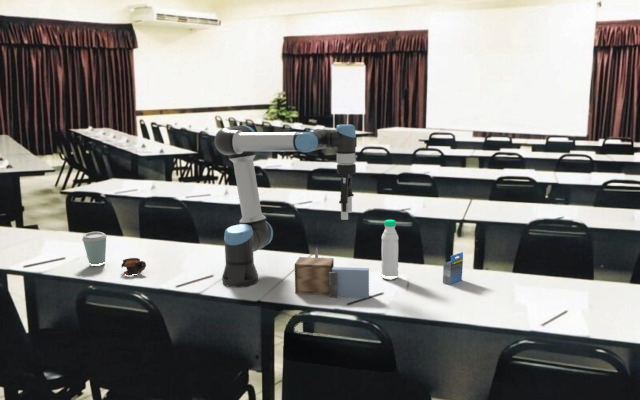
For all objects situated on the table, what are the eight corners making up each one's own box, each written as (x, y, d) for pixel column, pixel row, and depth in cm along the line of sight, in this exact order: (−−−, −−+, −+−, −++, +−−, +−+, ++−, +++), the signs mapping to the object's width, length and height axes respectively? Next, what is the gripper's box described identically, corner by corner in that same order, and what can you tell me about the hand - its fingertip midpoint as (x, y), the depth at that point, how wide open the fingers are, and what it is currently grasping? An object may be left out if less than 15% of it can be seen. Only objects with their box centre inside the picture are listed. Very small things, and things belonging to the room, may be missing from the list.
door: (332, 296, 239) (332, 269, 237) (333, 293, 242) (333, 267, 240) (368, 297, 236) (368, 270, 234) (368, 295, 239) (368, 268, 237)
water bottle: (400, 276, 262) (400, 219, 257) (395, 281, 255) (395, 222, 251) (384, 274, 265) (384, 218, 260) (379, 279, 258) (379, 221, 254)
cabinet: (293, 296, 240) (293, 266, 237) (300, 285, 252) (299, 257, 250) (336, 297, 237) (336, 267, 235) (341, 286, 249) (340, 258, 247)
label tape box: (454, 278, 258) (455, 250, 256) (462, 280, 256) (463, 251, 253) (442, 283, 252) (442, 254, 250) (450, 285, 249) (451, 256, 247)
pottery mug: (117, 278, 267) (116, 259, 270) (129, 281, 276) (128, 263, 279) (141, 272, 265) (140, 254, 267) (153, 276, 273) (152, 258, 276)
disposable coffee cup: (113, 263, 287) (111, 232, 285) (94, 269, 278) (91, 237, 276) (99, 260, 293) (96, 230, 290) (79, 266, 284) (76, 234, 281)
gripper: (352, 167, 231) (352, 222, 235) (358, 159, 255) (358, 209, 259) (332, 167, 232) (333, 222, 236) (340, 159, 257) (341, 209, 260)
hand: (346, 215), depth 248 cm, fingers open, 13 cm apart
